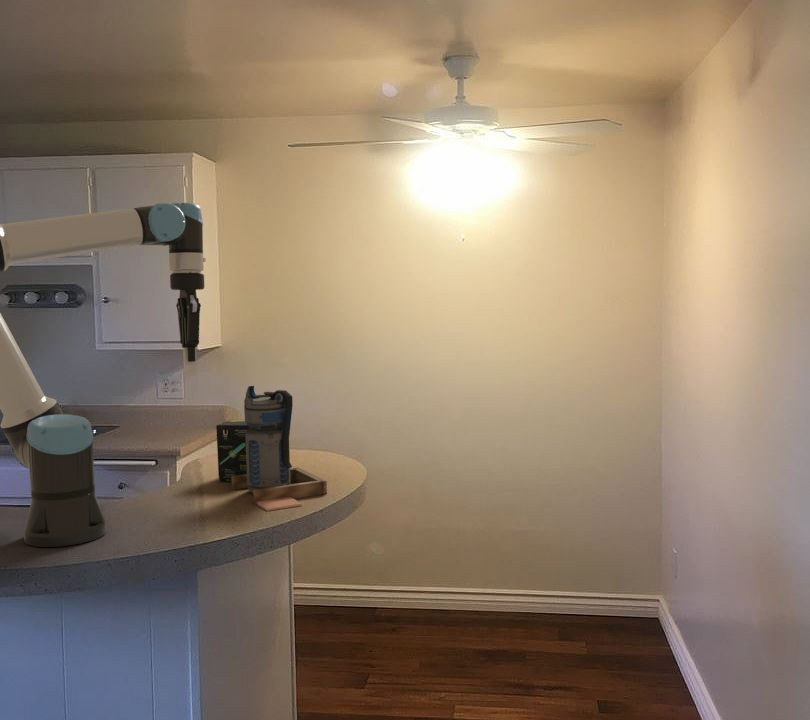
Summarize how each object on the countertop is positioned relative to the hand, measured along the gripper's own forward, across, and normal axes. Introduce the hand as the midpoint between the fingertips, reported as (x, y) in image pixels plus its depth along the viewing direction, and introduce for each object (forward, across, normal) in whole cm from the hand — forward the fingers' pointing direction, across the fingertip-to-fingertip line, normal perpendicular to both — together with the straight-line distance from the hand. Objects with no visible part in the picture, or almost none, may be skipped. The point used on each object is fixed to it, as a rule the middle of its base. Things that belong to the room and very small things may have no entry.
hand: (190, 375), depth 190 cm
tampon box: (+29, +13, -16) cm, 35 cm away
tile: (+28, -17, -14) cm, 36 cm away
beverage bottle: (+29, -4, -17) cm, 34 cm away
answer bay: (+28, -5, -18) cm, 34 cm away
